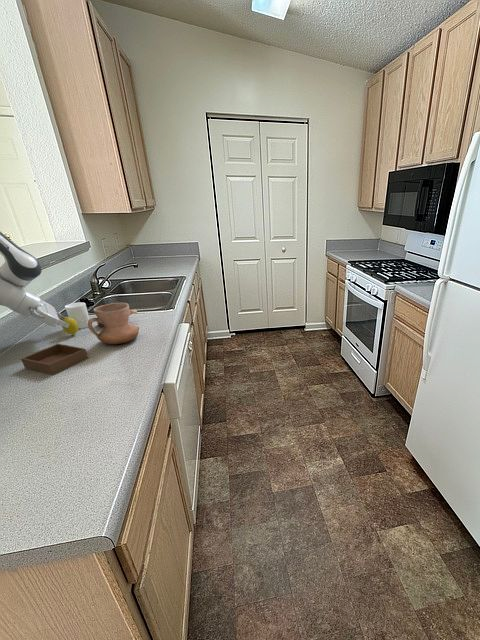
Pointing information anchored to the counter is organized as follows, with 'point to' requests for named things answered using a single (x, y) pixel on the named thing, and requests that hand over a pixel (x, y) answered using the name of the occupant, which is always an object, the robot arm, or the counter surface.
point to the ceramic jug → (114, 323)
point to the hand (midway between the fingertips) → (67, 322)
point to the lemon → (70, 326)
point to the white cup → (78, 313)
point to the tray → (54, 358)
